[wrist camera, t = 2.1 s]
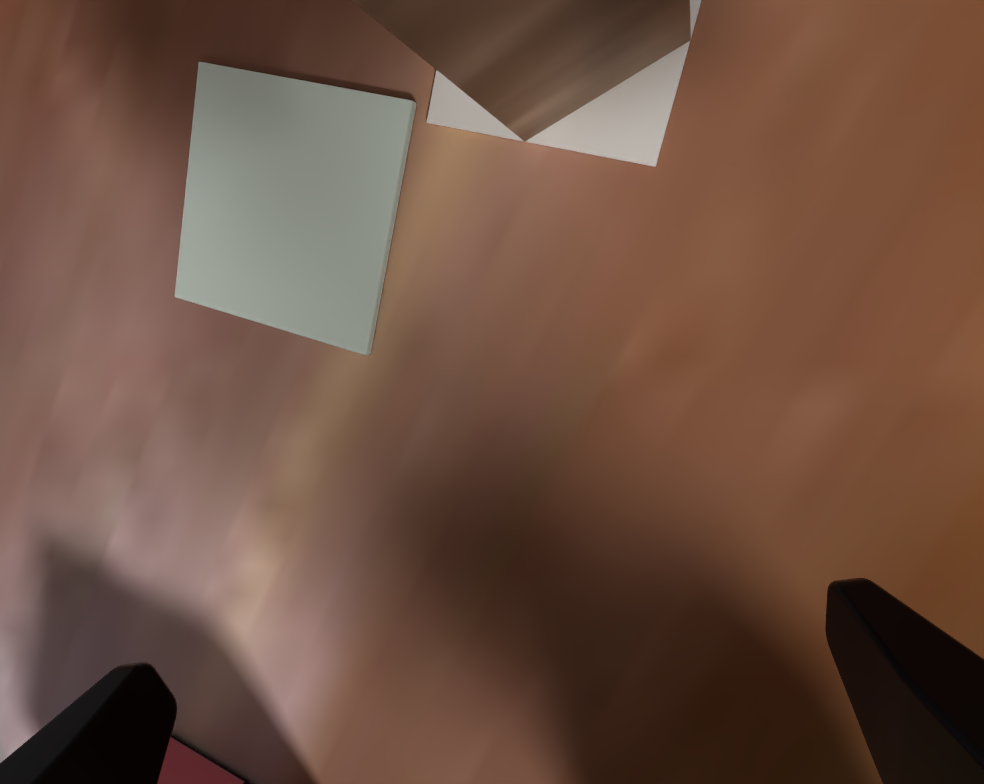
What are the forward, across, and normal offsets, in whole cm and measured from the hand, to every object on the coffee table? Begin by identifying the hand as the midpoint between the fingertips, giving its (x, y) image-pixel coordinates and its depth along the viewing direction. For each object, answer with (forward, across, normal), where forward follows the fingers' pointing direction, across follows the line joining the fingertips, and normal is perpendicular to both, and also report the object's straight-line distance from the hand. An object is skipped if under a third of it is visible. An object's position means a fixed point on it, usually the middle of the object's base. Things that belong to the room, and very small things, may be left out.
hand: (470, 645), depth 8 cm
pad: (+16, +7, -4) cm, 17 cm away
